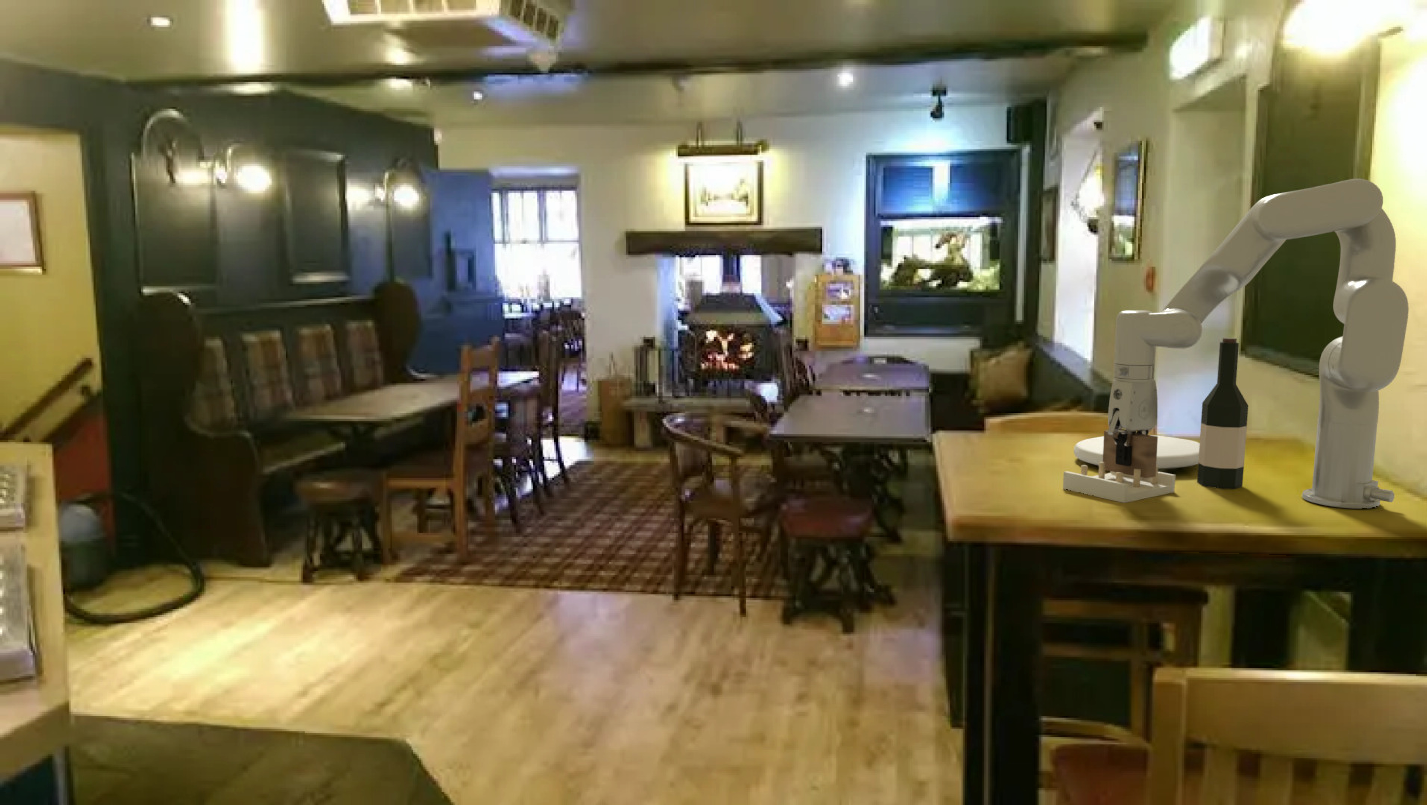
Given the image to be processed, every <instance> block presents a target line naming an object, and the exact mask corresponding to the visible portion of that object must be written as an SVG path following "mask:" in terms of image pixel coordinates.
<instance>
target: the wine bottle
mask: <svg viewBox="0 0 1427 805" xmlns="http://www.w3.org/2000/svg"><path fill="white" fill-rule="evenodd" d="M1237 340H1238V339H1237V338H1234V337H1232V338H1231V337H1223V338H1222V341H1220V342H1219V354H1218V364H1217V365H1218V366H1217V378H1216V382H1217V383H1216V384H1215V385H1214V386H1213V388H1212V389H1211V390H1210V392H1209V393H1208V395H1207V396H1206V397H1205V399H1204V400H1203V401H1202V403H1201V404H1202V405H1201V415H1200V416H1201V418H1200V432H1199V434H1200V435H1199V443H1200V446H1199V461H1198V464H1197V476H1196V477H1197V478H1196V483H1198V484H1199V485H1201V486H1203V487H1208V488H1214V489H1218V490H1219V489H1220V490H1221V489H1222V490H1223V489H1226V490H1228V489H1229V490H1236V489H1239V488H1243V483H1244V482H1243V481H1244V471H1245V470H1244V468H1245V467H1244V466H1245V456H1246V443H1247V442H1246V440H1247V428H1248V427H1247V426H1248V414H1249V405H1248V403H1247V401H1246V399H1245V398H1244V395H1243V394H1242V392H1241V390H1240V389H1239V387H1238V385H1237V376H1238V362H1239V348H1240V345H1239V344H1240V343H1239V342H1238V341H1237Z"/></svg>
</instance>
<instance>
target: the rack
mask: <svg viewBox="0 0 1427 805" xmlns="http://www.w3.org/2000/svg"><path fill="white" fill-rule="evenodd" d="M1088 469H1089V468H1088V465H1086V464H1081V465H1080V473H1077V472H1073V471H1067V470H1066V471H1063V478H1062V479H1063V480H1062V481H1063V482H1062V483H1063V484H1062V489H1063V490H1066V489H1068V490H1067V491H1070V490H1071V492H1074V493H1079V492H1081V493H1080V494H1083V493H1084V494H1083V495H1087V494H1088V496H1092V495H1094V496H1093V497H1097V498H1102V499H1106V500H1110V501H1114V502H1118V503H1121V504H1122V503H1123V504H1125V503H1130V502H1135V501H1139V500H1144V499H1149V498H1153V497H1157V496H1162V495H1167V494H1171V493H1172V494H1173V493H1175V488H1176V487H1175V484H1176V474H1172V473H1168V472H1162V471H1159V469H1158V466H1156V476H1155V477H1150V478H1142V477H1140V474H1141V469H1134V476H1132V475H1127V474H1123V473H1122V472H1112V471H1109V472H1108V473H1107V472H1106V470H1105V462H1099V466H1098V474H1096V475H1091V476H1090V475H1088Z"/></svg>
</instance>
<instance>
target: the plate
mask: <svg viewBox="0 0 1427 805" xmlns="http://www.w3.org/2000/svg"><path fill="white" fill-rule="evenodd" d="M1150 435H1151V434H1150ZM1151 436H1157V437H1158V442H1157V459H1156V466H1158V470H1163V469H1164V470H1165V469H1179V468H1186V467H1193V466H1196V465H1198V461H1199V446H1200V442H1198V441H1196V440H1191V439H1185V438H1177V437H1173V436H1162V435H1151ZM1103 446H1104V435H1103V436H1097V437H1091V438H1087V439H1083V440H1080V441H1078V442H1076V444H1075V445H1074V448H1073V454H1074V456H1075V458H1077V459H1078V460H1080V461H1082V462H1085V463H1088V464H1090V465H1094V466H1098V467H1099V462H1103Z"/></svg>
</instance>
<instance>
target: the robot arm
mask: <svg viewBox="0 0 1427 805" xmlns="http://www.w3.org/2000/svg"><path fill="white" fill-rule="evenodd" d="M1383 204H1384V196H1383V193H1382V190H1381V189H1380V188H1379V187H1378V185H1377V184H1375V183H1374V182H1373V181H1370V180H1368V179H1364V178H1350V179H1346V180H1341V181H1337V182H1334V183H1328V184H1327V183H1326V184H1321V185H1318V186H1313V187H1309V188H1304V189H1298V190H1291V191H1286V192H1281V193H1275V194H1270V195H1266V196H1265V197H1263V198H1260V199H1259V200H1258V201H1257V202H1256V203H1254V205H1253V206H1252V207H1251V208H1250V209H1249V210H1248V211H1247V213H1245V215H1244V216H1243V217H1242V219H1240V221H1239V222H1238V223H1237V224H1236V225H1235V227H1234V228H1233V229H1232V230H1231V231H1230V232H1229V234H1228V235H1227V236H1226V237H1225V238H1224V239H1223V241H1222V242H1221V243H1220V244H1219V245H1218V246H1217V248H1216V249H1215V250H1214V251H1213V252H1212V254H1211V255H1210V256H1209V257H1208V258H1207V259H1206V260H1205V261H1204V262H1203V264H1202V265H1201V266H1200V267H1199V268H1198V270H1196V272H1195V273H1194V274H1193V275H1192V276H1191V277H1190V279H1188V280H1187V282H1186V283H1184V284H1183V286H1182V287H1181V288H1180V289H1179V290H1178V292H1177V293H1176V294H1175V295H1174V296H1173V297H1172V299H1171V300H1170V301H1168V303H1167V304H1166V305H1165V307H1164V308H1163V309H1162V310H1161V311H1160V312H1154V311H1152V310H1136V309H1134V310H1133V309H1132V310H1131V309H1129V310H1122V311H1119V313H1118V314H1117V316H1116V319H1115V320H1116V321H1115V334H1114V338H1115V339H1114V355H1113V356H1114V357H1113V377H1112V378H1113V379H1112V384H1111V387H1110V388H1111V389H1110V396H1109V401H1108V402H1109V404H1108V414H1107V416H1108V418H1107V419H1108V420H1107V424H1108V429H1107V430H1108V434H1109V435H1110V436H1112V437H1113V439H1114V440H1115V445H1116V464H1119V465H1124V466H1131V457H1132V446H1130V441H1131V432H1132V433H1138V434H1145V435H1149V433H1150V432H1151V431H1152V430H1153V429H1154V428H1155V427H1156V426H1157V425H1158V414H1159V413H1158V412H1159V411H1158V410H1159V409H1158V407H1159V406H1158V390H1157V381H1156V379H1155V373H1156V372H1155V371H1156V370H1155V369H1156V353H1157V348H1165V349H1172V350H1186V349H1189V348H1192V347H1193V346H1194V345H1195V344H1197V343H1198V342H1199V341H1200V339H1201V337H1202V334H1203V326H1202V323H1203V322H1204V321H1205V320H1206V319H1207V318H1208V317H1209V315H1210V314H1211V313H1212V312H1213V311H1214V310H1215V309H1216V308H1217V307H1218V306H1220V304H1221V303H1223V302H1224V301H1225V300H1226V299H1228V298H1229V297H1230V296H1232V295H1233V294H1235V293H1237V292H1239V291H1240V290H1242V289H1243V288H1244V287H1245V286H1247V285H1248V284H1249V283H1250V282H1251V281H1252V280H1253V279H1254V278H1255V276H1256V275H1257V274H1258V273H1259V271H1260V270H1261V269H1263V267H1264V266H1265V264H1266V263H1267V262H1268V261H1269V260H1270V259H1271V257H1273V255H1275V253H1276V252H1277V251H1278V250H1279V248H1281V247H1282V245H1283V244H1284V243H1285V242H1286V241H1287V240H1293V239H1300V238H1305V237H1311V236H1316V235H1317V236H1319V235H1322V234H1327V233H1332V232H1334V233H1335V234H1336V235H1337V237H1338V240H1339V245H1340V256H1339V258H1340V260H1339V268H1338V276H1337V281H1336V287H1335V288H1336V289H1335V293H1334V296H1333V305H1332V308H1333V309H1332V310H1333V312H1334V315H1335V317H1336V319H1337V320H1338V321H1339V322H1340V323H1342V324H1343V325H1344V326H1343V331H1342V332H1343V333H1342V336H1339V337H1337V338H1335V339H1333V340H1332V341H1331V342H1329V343H1328V344H1327V345H1326V346H1325V347H1324V348H1323V351H1322V352H1321V354H1320V355H1321V356H1320V358H1319V366H1318V374H1319V376H1318V378H1319V380H1318V381H1319V402H1318V404H1319V405H1318V415H1317V427H1316V438H1315V440H1316V441H1315V449H1314V462H1313V463H1314V464H1313V475H1312V484H1311V485H1312V486H1311V488H1307V489H1304V490H1303V491H1302V494H1301V497H1302V499H1304V501H1307V502H1310V503H1314V504H1317V505H1322V506H1327V507H1332V508H1333V507H1334V508H1341V509H1356V510H1357V509H1358V510H1359V509H1360V510H1361V509H1362V508H1367V509H1373V508H1372V507H1375V508H1377V507H1376V506H1378V507H1379V506H1380V505H1381V501H1382V502H1387V503H1392V502H1394V499H1395V493H1394V491H1393V490H1390V489H1386V488H1385V489H1383V488H1380V487H1379V481H1378V480H1374V479H1373V475H1374V464H1375V463H1374V462H1375V452H1376V441H1377V433H1378V432H1377V431H1378V430H1377V429H1378V424H1379V412H1380V411H1379V408H1380V407H1379V406H1380V395H1379V394H1380V393H1379V391H1380V390H1382V389H1383V390H1384V389H1385V388H1386V387H1387V386H1389V385H1390V384H1391V383H1392V382H1393V381H1394V380H1395V379H1396V376H1397V375H1398V373H1399V369H1400V366H1401V362H1402V357H1403V353H1404V352H1403V351H1404V345H1405V341H1406V340H1405V339H1406V332H1407V327H1408V319H1409V311H1410V310H1409V309H1410V307H1409V301H1408V298H1407V297H1408V296H1407V294H1406V291H1405V290H1404V289H1403V288H1402V287H1401V286H1400V285H1399V284H1398V283H1396V282H1394V281H1393V279H1394V272H1395V271H1394V270H1395V263H1396V261H1395V260H1396V251H1397V249H1396V248H1397V240H1396V233H1395V232H1396V231H1395V229H1394V227H1393V223H1392V221H1391V219H1390V218H1389V215H1388V214H1387V213H1386V212H1385V210H1384V208H1383ZM1121 433H1125V437H1124V435H1123V434H1121Z"/></svg>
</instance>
